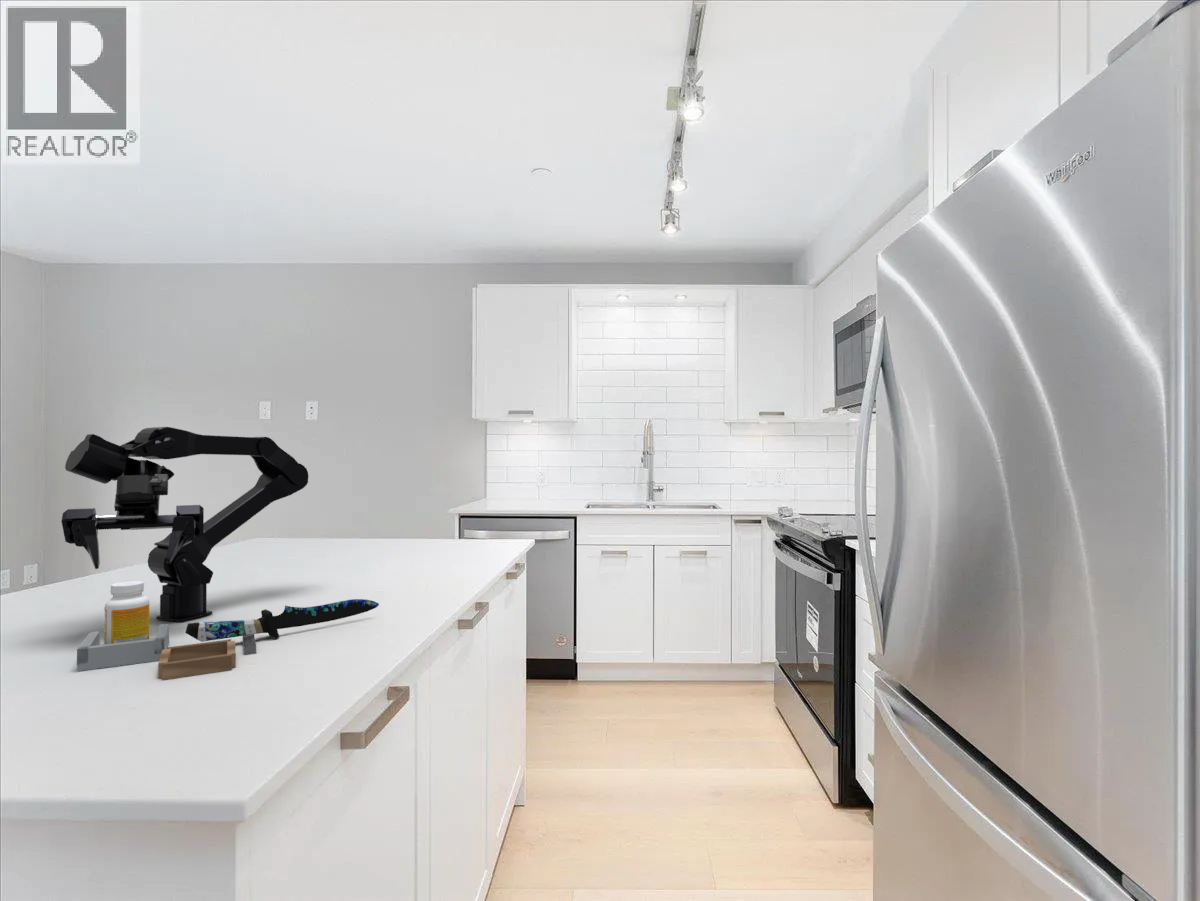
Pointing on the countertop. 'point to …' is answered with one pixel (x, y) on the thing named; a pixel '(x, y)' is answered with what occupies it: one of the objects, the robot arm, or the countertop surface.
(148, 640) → the tray
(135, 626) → the supplement bottle
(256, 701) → the countertop surface
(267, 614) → the knife
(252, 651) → the bar
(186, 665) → the socket collar
